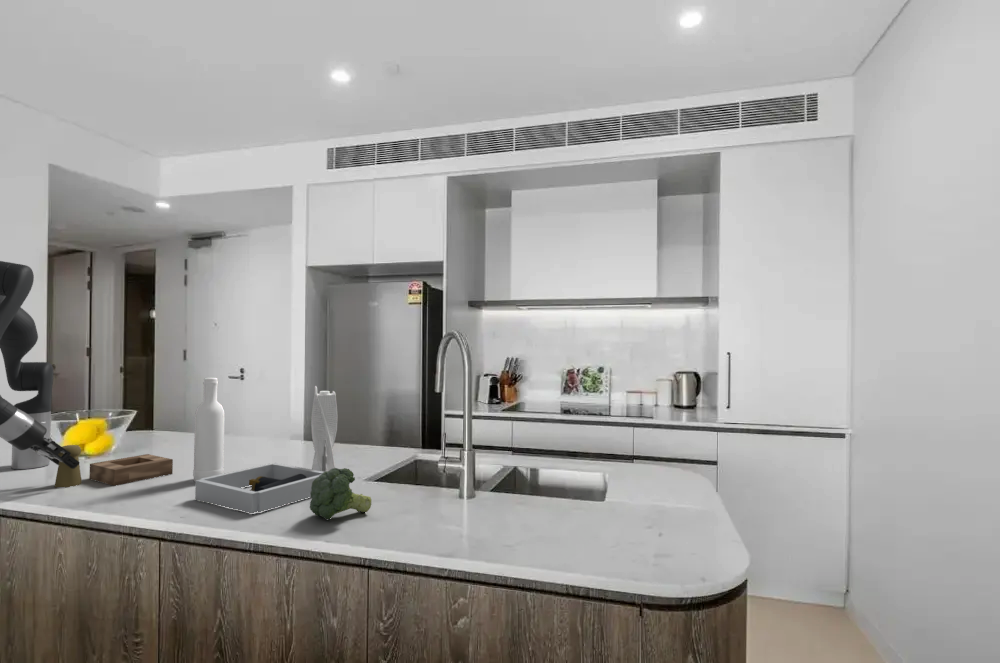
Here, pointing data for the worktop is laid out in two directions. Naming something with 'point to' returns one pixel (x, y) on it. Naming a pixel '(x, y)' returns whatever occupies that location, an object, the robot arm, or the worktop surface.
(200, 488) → the tray rim
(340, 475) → the vegetable
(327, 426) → the skyscraper
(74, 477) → the cork
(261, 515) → the worktop surface
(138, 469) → the socket block
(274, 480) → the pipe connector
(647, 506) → the worktop surface
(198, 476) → the bottle
